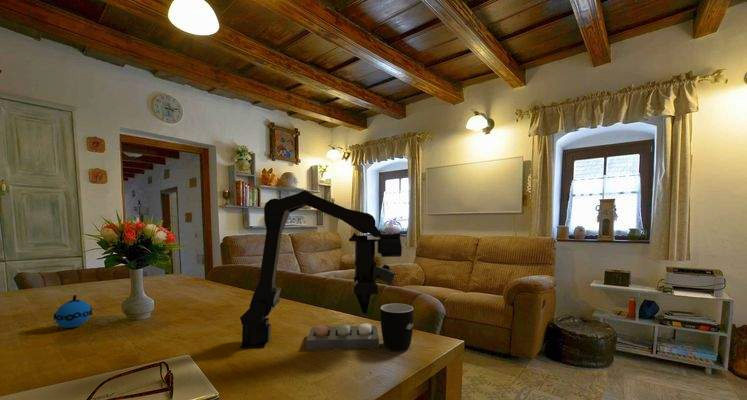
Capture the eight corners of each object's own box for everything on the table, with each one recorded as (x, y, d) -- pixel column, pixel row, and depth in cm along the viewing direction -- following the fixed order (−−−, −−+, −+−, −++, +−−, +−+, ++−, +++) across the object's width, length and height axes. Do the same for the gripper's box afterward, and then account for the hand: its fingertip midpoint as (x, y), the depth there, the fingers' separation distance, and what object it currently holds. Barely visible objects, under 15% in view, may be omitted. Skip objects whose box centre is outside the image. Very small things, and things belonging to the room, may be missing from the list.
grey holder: (379, 348, 82) (379, 338, 82) (306, 349, 80) (306, 340, 80) (376, 334, 92) (376, 325, 92) (311, 335, 91) (311, 327, 91)
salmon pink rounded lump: (314, 339, 84) (314, 328, 84) (316, 334, 88) (316, 324, 88) (327, 339, 84) (327, 328, 84) (328, 334, 88) (329, 324, 88)
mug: (409, 355, 77) (409, 313, 78) (375, 350, 80) (375, 310, 81) (419, 338, 88) (418, 302, 89) (388, 335, 91) (388, 299, 92)
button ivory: (358, 338, 85) (358, 327, 85) (358, 333, 88) (358, 323, 88) (371, 338, 85) (371, 327, 85) (371, 333, 88) (371, 323, 89)
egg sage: (336, 338, 84) (336, 328, 84) (337, 334, 88) (337, 324, 88) (349, 338, 85) (350, 327, 85) (350, 333, 88) (350, 323, 88)
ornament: (88, 328, 97) (90, 296, 97) (49, 334, 92) (51, 299, 93) (92, 321, 104) (95, 291, 104) (57, 326, 99) (59, 294, 100)
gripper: (397, 261, 79) (397, 323, 78) (389, 254, 98) (389, 304, 97) (354, 261, 79) (353, 324, 78) (354, 254, 97) (353, 304, 96)
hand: (364, 313), depth 87 cm, fingers closed
